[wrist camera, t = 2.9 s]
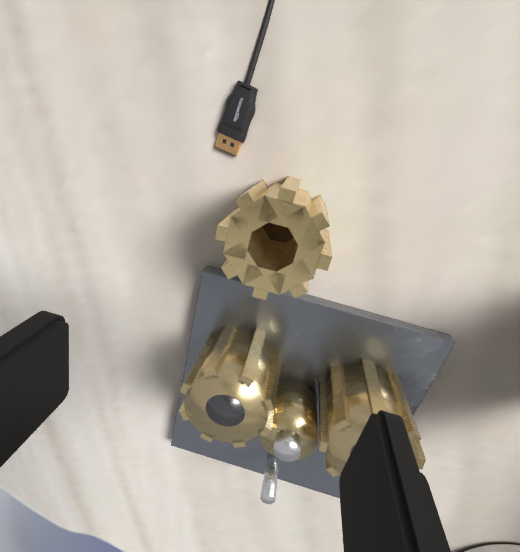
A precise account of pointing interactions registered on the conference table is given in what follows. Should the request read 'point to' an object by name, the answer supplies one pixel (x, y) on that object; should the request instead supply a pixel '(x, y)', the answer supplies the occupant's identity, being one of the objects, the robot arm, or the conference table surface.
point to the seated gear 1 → (233, 387)
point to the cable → (241, 102)
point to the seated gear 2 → (359, 410)
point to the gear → (272, 254)
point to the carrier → (303, 372)
